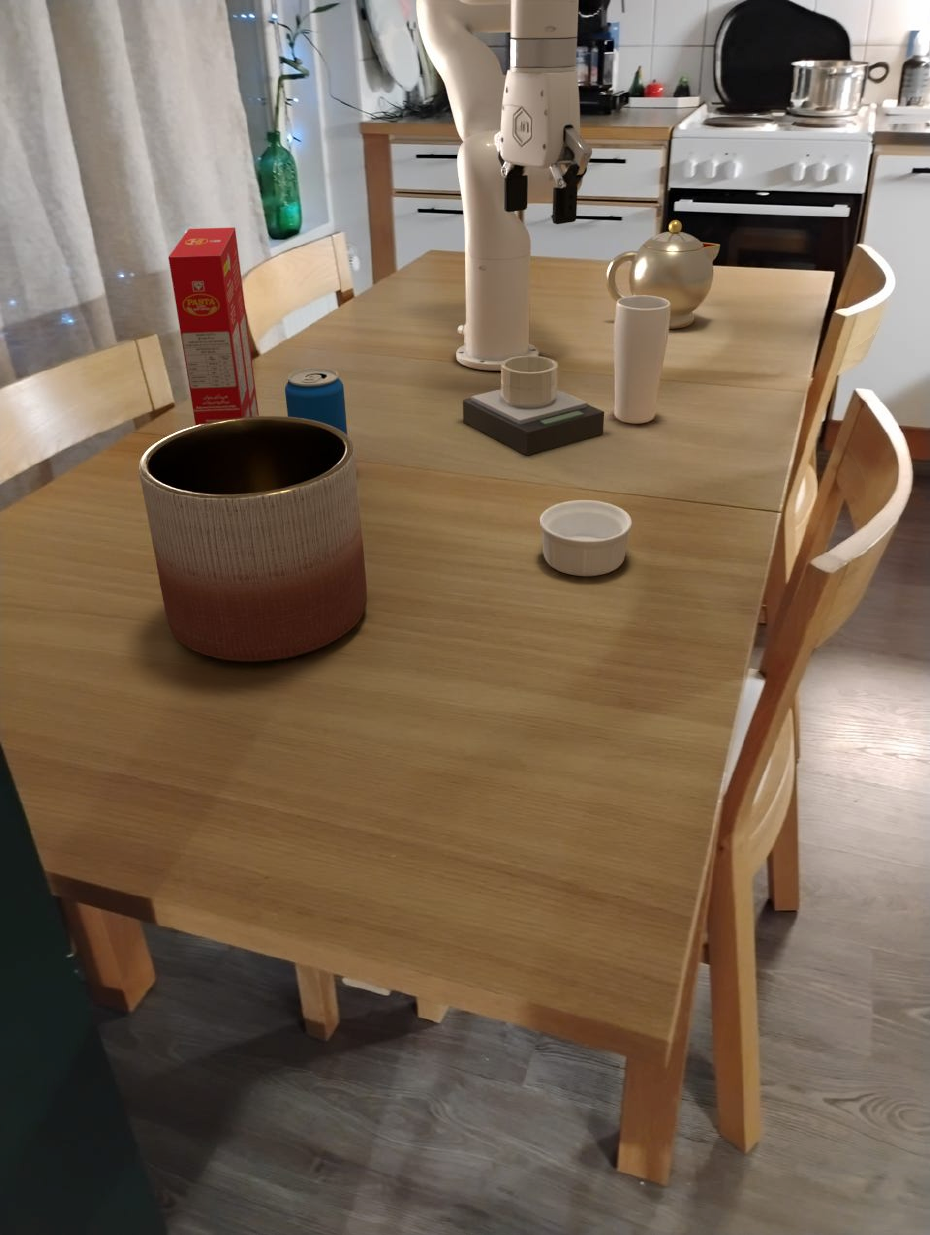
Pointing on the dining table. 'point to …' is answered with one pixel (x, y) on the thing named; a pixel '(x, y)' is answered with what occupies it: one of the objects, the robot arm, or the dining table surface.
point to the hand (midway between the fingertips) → (539, 216)
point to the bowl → (529, 381)
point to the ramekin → (585, 537)
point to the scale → (533, 421)
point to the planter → (256, 536)
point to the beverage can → (316, 397)
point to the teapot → (669, 272)
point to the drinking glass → (639, 355)
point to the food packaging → (213, 324)
